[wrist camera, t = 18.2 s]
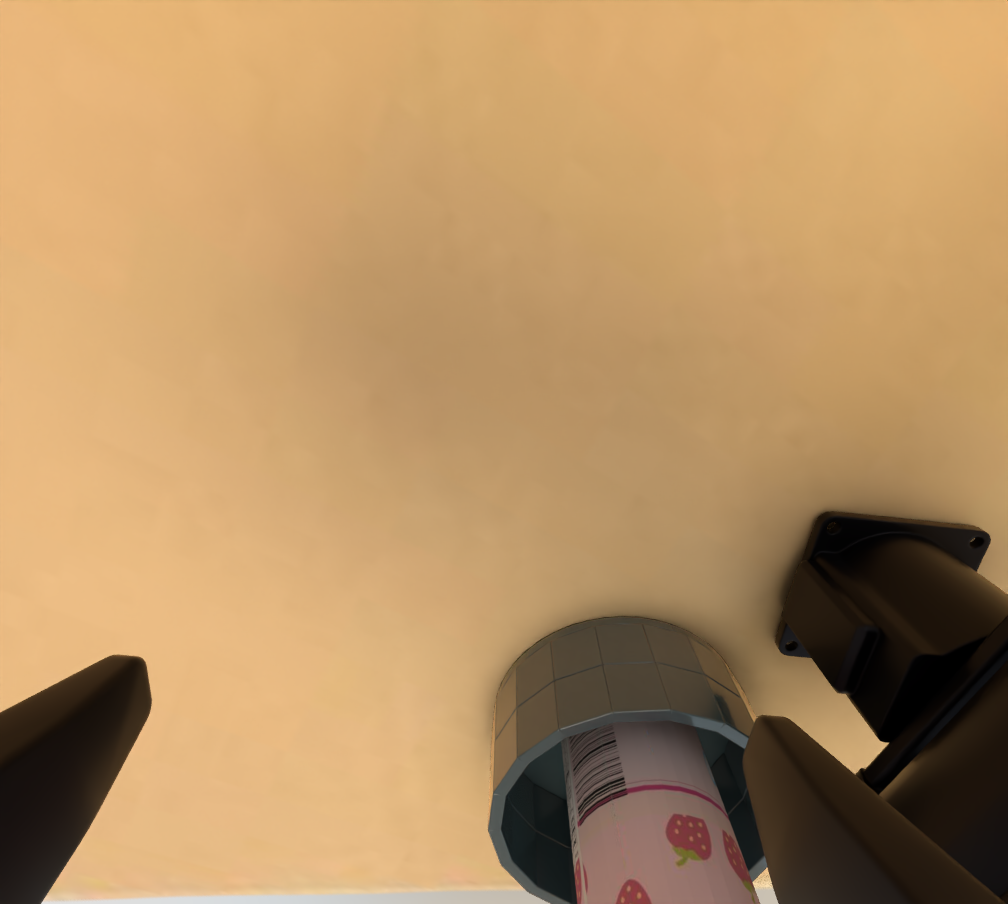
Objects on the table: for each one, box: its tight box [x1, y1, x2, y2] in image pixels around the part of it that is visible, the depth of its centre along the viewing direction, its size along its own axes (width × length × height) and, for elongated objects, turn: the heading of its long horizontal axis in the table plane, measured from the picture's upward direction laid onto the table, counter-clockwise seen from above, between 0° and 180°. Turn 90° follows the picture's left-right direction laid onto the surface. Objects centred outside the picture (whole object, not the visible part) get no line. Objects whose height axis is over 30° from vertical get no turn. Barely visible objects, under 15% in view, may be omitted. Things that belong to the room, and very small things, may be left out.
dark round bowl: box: [488, 617, 767, 904], centre depth 23 cm, size 11×11×5 cm
